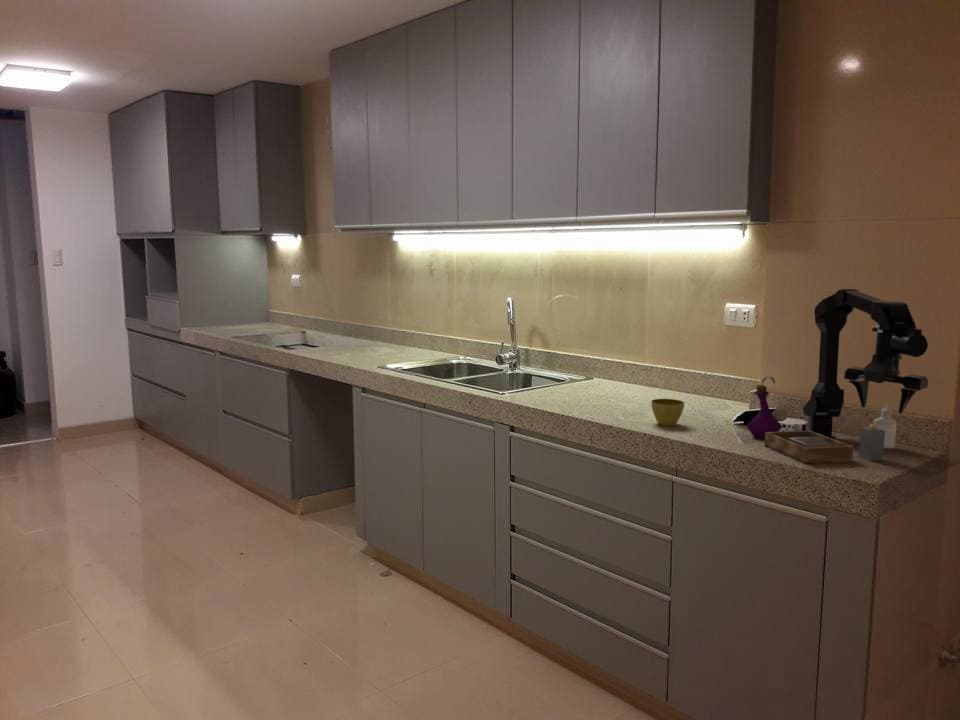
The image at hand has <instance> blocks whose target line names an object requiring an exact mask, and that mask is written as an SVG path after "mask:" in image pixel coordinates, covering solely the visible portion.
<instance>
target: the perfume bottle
mask: <svg viewBox="0 0 960 720" xmlns="http://www.w3.org/2000/svg"><path fill="white" fill-rule="evenodd" d="M767 379H769V380H771V382H772V384H773V385H775V384H776V381H775V380H776V379H775V377H773V376H767V377H766V376H765V377H764V378H763V379H762V381H761V384H757V385H756V390H755V391H754V392H753V393H754V395H756V396H757V398H758V400H759V405H760V407H759V408H760V409H759V412H758V414H757V415H755V417H754V418H753V419H752V420H751V421H750V422H749V423H748V424H746V428H747V429H748V431H749V432H750V433H751V435H752V437H753V438H756V439H757V438H758V439H762V440H765V432H780V430H781V429H782V428H783V426H782V424H781V423H780V422H779V421H778V420H777V419H776V417H775V416H774V415H773V413H772V412H771V410H770V407H769V404H768V401H767V396H769V395H770V393H769V391H767V390H768V387H767V386H766V385H764V382H765V380H767Z"/></svg>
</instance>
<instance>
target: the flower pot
mask: <svg viewBox="0 0 960 720" xmlns="http://www.w3.org/2000/svg"><path fill="white" fill-rule="evenodd" d="M650 403H651V409H652V411H653V412H652V413H653V415H654V418H655V420H656V422H657V423H658V425H660V426H663V427H665V426H666V427H672V426H676V425H677V424H678V421H679V420H680V418H681V415H683V412H684V409H685V401H683V400H679V399H675V398H674V399H673V398H655V399H652V400H651V402H650Z"/></svg>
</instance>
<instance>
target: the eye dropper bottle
mask: <svg viewBox="0 0 960 720" xmlns="http://www.w3.org/2000/svg"><path fill="white" fill-rule="evenodd" d="M891 416H892V409H890V408H889V405H888V404H885V406H884V408H882V409H881V411H880V417H877V418H875V419H874V420H873V425H877V428H879V429H882V430H885V437H884V448H883V450H884V449H886V450H887V449H888V450H889V449H893V450H894V449H895V447H896V437H897V436H896V435H897V426H898V425H897V424H898V422H897V421H896V420H895V419H893V418H891Z"/></svg>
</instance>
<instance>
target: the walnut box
mask: <svg viewBox="0 0 960 720" xmlns="http://www.w3.org/2000/svg"><path fill="white" fill-rule="evenodd" d="M795 437H816V438H819V439H821V440H824V441H827V442H829V443H832V444H833V447H812V448H805V447H803V446H801V445H798V444H796V443H793V442H791V441H788V438H795ZM764 447H765V448H767V449H769V448H770V450H771V451H774V450H775V451H774V452H776V451H777V452H776V453H778V452H779V454H781V453H782V454H781V455H783V454H784V456H785V455H787V456H789V457H788V458H790V457H791V458H790V459H792V458H793V459H792V460H794V459H796V460H798V461H797V462H799V461H800V462H799V463H801V462H802V463H801V464H803V463H813V464H823V463H822V462H833V463H850V462H849V461H852V462H853V456H854V446H852V445H850V444H847V443H845V442H842V441H840V440H837V439H835V438H829V437H826V436H824V435H821V434H818V433H815V432H813V431H809V430H795V431H794V430H791V431H789V430H788V431H787V430H786V431H778V432H765V439H764ZM787 456H786V457H787ZM796 460H795V461H796ZM847 461H848V462H847ZM820 462H821V463H820Z"/></svg>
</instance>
